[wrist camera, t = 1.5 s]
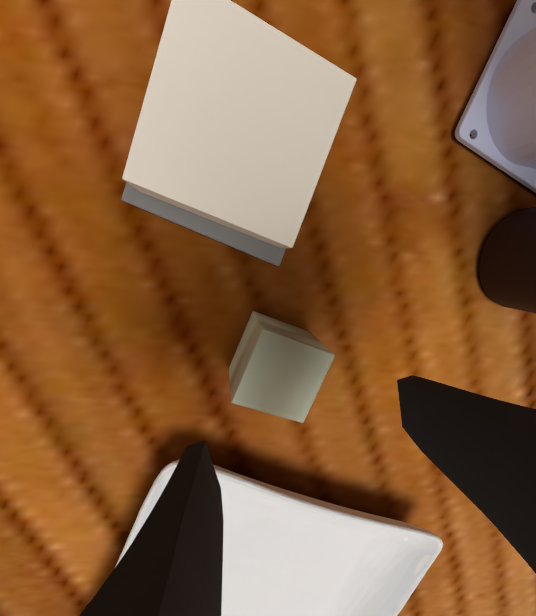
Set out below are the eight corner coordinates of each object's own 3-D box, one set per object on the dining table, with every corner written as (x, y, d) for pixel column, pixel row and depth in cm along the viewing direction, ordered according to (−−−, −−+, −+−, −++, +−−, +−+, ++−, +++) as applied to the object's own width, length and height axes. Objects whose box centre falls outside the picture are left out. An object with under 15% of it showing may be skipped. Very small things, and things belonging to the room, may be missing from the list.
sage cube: (309, 331, 18) (334, 355, 14) (285, 386, 18) (303, 423, 14) (252, 310, 17) (263, 329, 13) (228, 368, 17) (231, 402, 13)
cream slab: (331, 109, 13) (356, 78, 11) (279, 247, 14) (292, 248, 12) (187, 26, 11) (180, -31, 9) (140, 191, 12) (122, 178, 10)
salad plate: (57, 663, 20) (26, 745, 17) (174, 422, 18) (164, 462, 14) (301, 681, 26) (313, 746, 22) (417, 498, 23) (451, 540, 20)
